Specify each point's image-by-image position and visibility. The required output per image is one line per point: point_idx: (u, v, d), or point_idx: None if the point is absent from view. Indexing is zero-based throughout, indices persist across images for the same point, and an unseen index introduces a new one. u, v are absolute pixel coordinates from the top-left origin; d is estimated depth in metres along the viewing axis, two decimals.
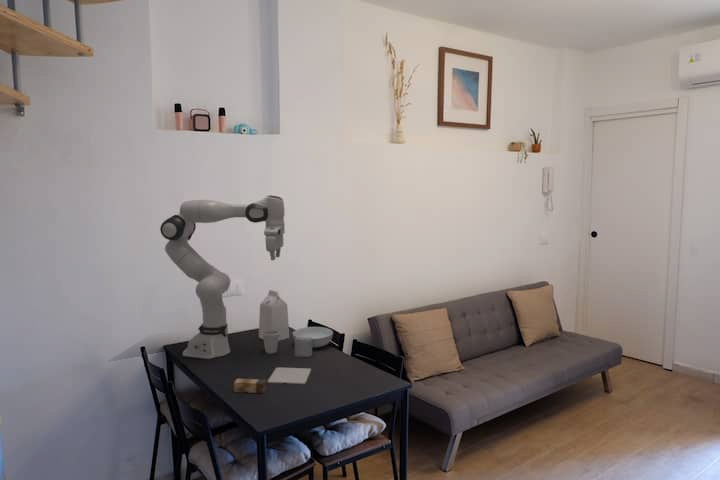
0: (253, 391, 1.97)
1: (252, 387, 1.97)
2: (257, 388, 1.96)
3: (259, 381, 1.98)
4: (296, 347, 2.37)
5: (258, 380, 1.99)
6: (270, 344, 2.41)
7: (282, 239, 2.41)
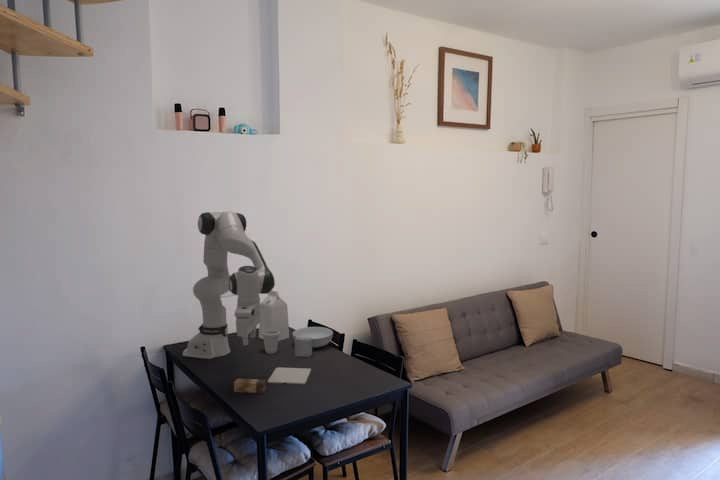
0: (253, 391, 1.97)
1: (252, 387, 1.97)
2: (257, 388, 1.97)
3: (259, 381, 1.98)
4: (296, 347, 2.37)
5: (258, 380, 1.99)
6: (270, 344, 2.41)
7: (258, 315, 2.03)
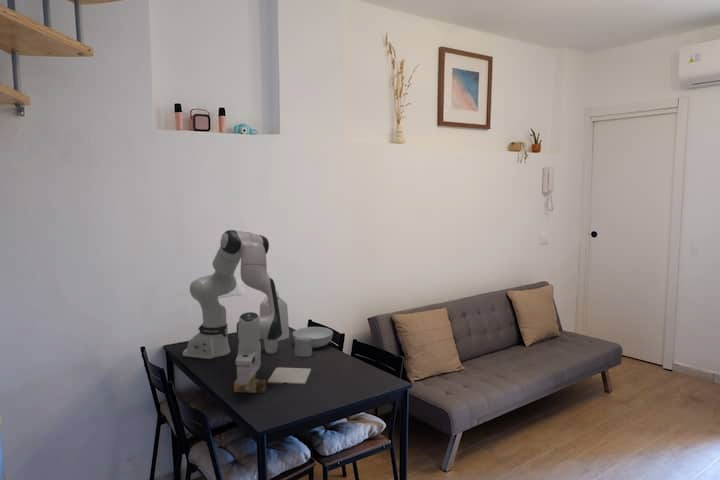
0: (253, 391, 1.97)
1: (252, 387, 1.97)
2: (257, 388, 1.96)
3: (259, 381, 1.98)
4: (296, 347, 2.37)
5: (258, 380, 1.99)
6: (270, 344, 2.41)
7: (259, 360, 2.05)
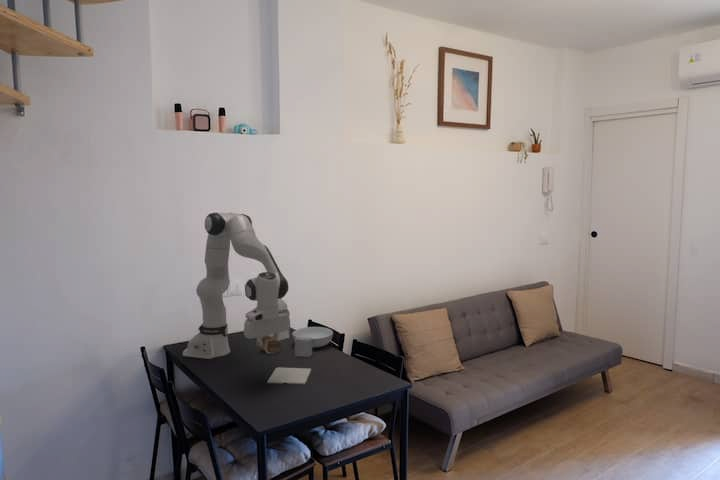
0: (266, 349, 2.01)
1: (265, 345, 2.01)
2: (268, 346, 2.00)
3: (272, 341, 2.00)
4: (296, 347, 2.37)
5: (274, 340, 2.02)
6: None
7: (285, 322, 2.06)
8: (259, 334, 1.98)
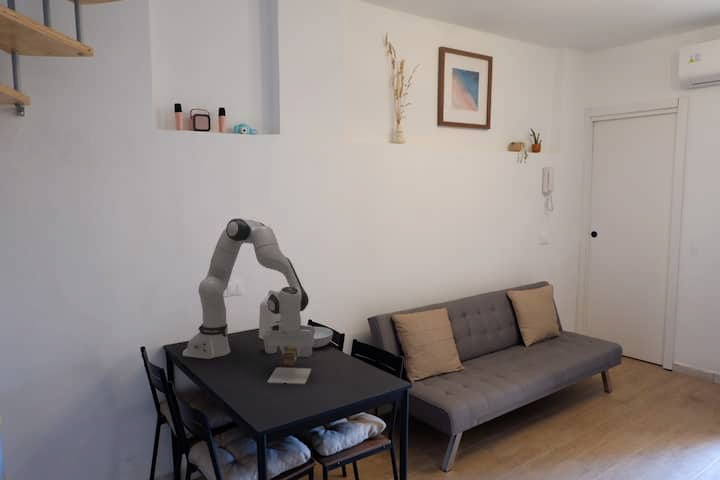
0: None
1: None
2: None
3: (289, 353, 2.09)
4: None
5: (291, 353, 2.10)
6: None
7: (307, 338, 2.10)
8: (278, 344, 2.11)
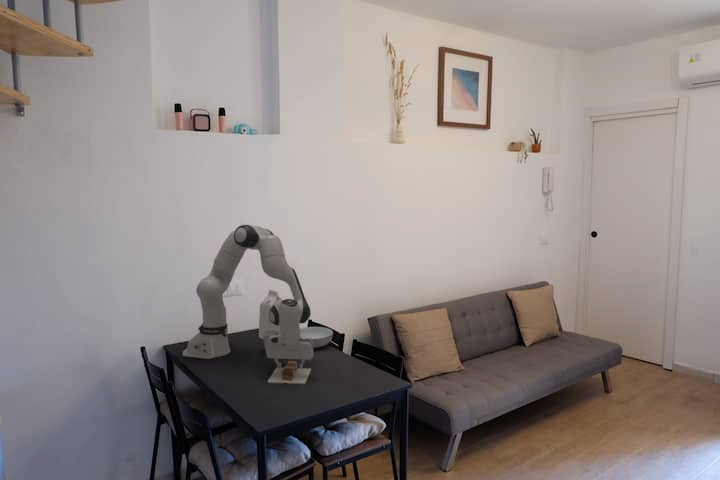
0: None
1: None
2: None
3: (288, 369, 2.10)
4: None
5: (290, 368, 2.10)
6: None
7: (306, 351, 2.10)
8: (277, 356, 2.11)
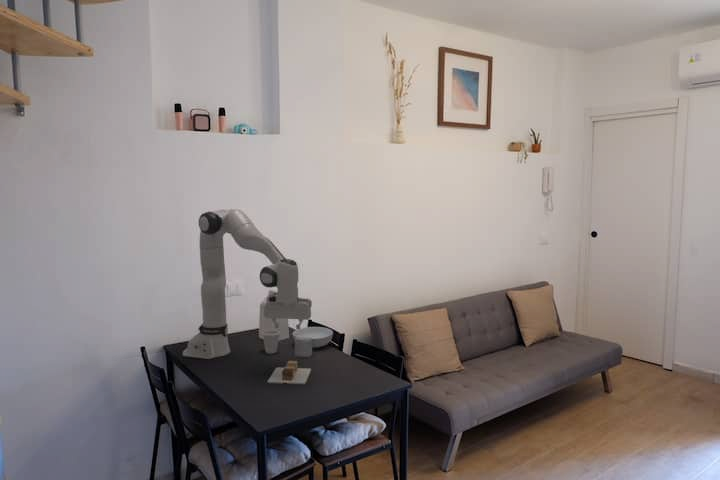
0: None
1: None
2: None
3: (288, 369, 2.10)
4: (296, 347, 2.37)
5: (290, 368, 2.10)
6: (270, 344, 2.41)
7: (304, 311, 2.09)
8: (275, 315, 2.10)
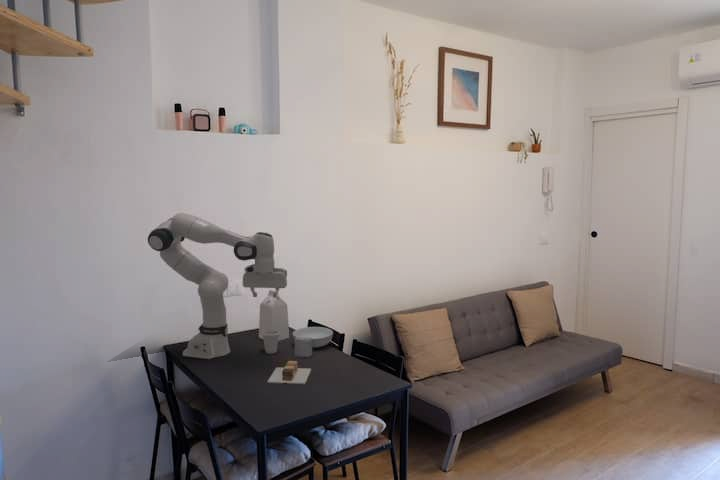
0: None
1: None
2: None
3: (288, 369, 2.10)
4: (296, 347, 2.37)
5: (290, 368, 2.10)
6: (270, 344, 2.41)
7: (279, 280, 2.24)
8: (253, 285, 2.25)
